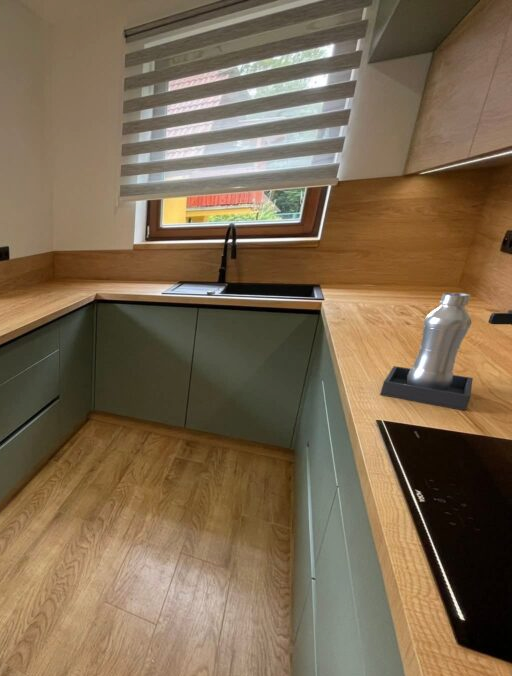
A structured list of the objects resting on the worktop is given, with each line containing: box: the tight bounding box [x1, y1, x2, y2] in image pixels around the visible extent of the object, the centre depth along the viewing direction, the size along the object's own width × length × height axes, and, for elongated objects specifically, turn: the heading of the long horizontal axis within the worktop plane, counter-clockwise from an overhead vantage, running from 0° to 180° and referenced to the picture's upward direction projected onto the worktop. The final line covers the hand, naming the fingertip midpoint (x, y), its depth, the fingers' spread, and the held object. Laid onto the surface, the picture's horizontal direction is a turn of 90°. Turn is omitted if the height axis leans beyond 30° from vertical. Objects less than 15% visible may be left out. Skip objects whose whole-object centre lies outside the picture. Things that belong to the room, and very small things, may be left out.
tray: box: [379, 365, 474, 412], centre depth 89 cm, size 13×12×3 cm
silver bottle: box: [407, 292, 472, 391], centre depth 86 cm, size 6×7×20 cm
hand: (510, 323), depth 82 cm, fingers open, 8 cm apart
